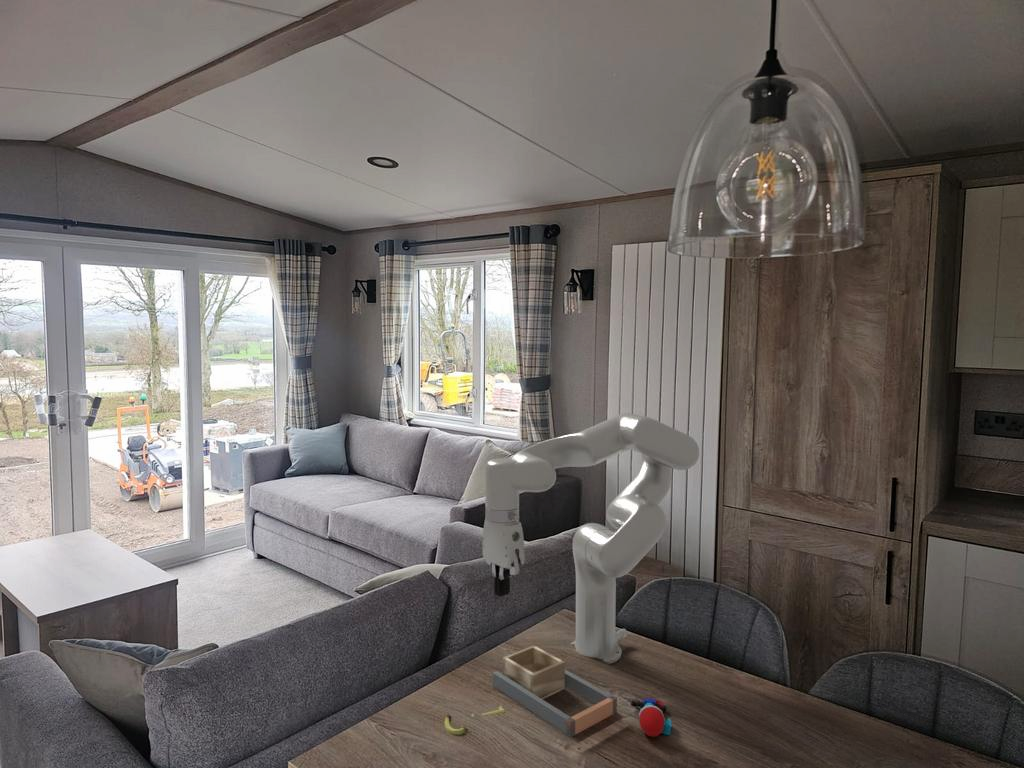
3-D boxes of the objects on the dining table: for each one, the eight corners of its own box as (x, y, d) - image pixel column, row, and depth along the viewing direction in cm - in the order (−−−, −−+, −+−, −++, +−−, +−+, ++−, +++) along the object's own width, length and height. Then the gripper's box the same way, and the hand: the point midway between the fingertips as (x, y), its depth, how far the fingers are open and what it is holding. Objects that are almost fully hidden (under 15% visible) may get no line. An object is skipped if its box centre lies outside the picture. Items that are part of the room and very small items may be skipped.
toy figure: (628, 709, 142) (633, 740, 127) (630, 685, 143) (635, 713, 128) (665, 714, 141) (674, 746, 127) (666, 690, 142) (676, 719, 127)
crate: (502, 684, 147) (502, 657, 146) (533, 670, 152) (533, 645, 152) (533, 703, 139) (533, 675, 138) (564, 688, 145) (564, 662, 144)
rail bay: (492, 691, 146) (492, 672, 146) (537, 671, 154) (537, 653, 154) (570, 743, 128) (570, 722, 127) (616, 718, 136) (616, 698, 136)
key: (508, 719, 136) (507, 709, 136) (453, 739, 130) (453, 729, 130) (490, 703, 142) (490, 693, 142) (437, 721, 136) (437, 711, 136)
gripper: (537, 518, 147) (536, 600, 149) (494, 504, 159) (494, 580, 160) (510, 525, 143) (510, 609, 144) (468, 510, 154) (469, 588, 156)
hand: (502, 593), depth 152 cm, fingers closed
